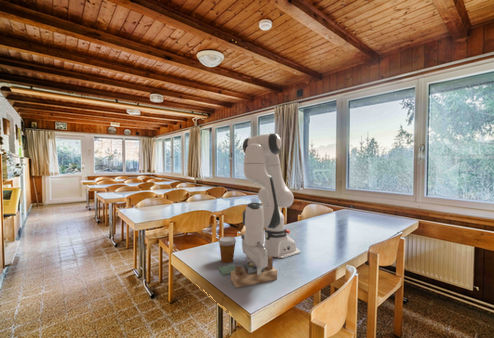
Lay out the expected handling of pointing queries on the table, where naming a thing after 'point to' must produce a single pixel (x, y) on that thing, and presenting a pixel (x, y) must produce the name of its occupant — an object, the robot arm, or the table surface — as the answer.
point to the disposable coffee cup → (227, 249)
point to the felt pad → (226, 269)
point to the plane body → (253, 275)
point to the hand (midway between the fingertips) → (254, 269)
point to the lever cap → (251, 268)
